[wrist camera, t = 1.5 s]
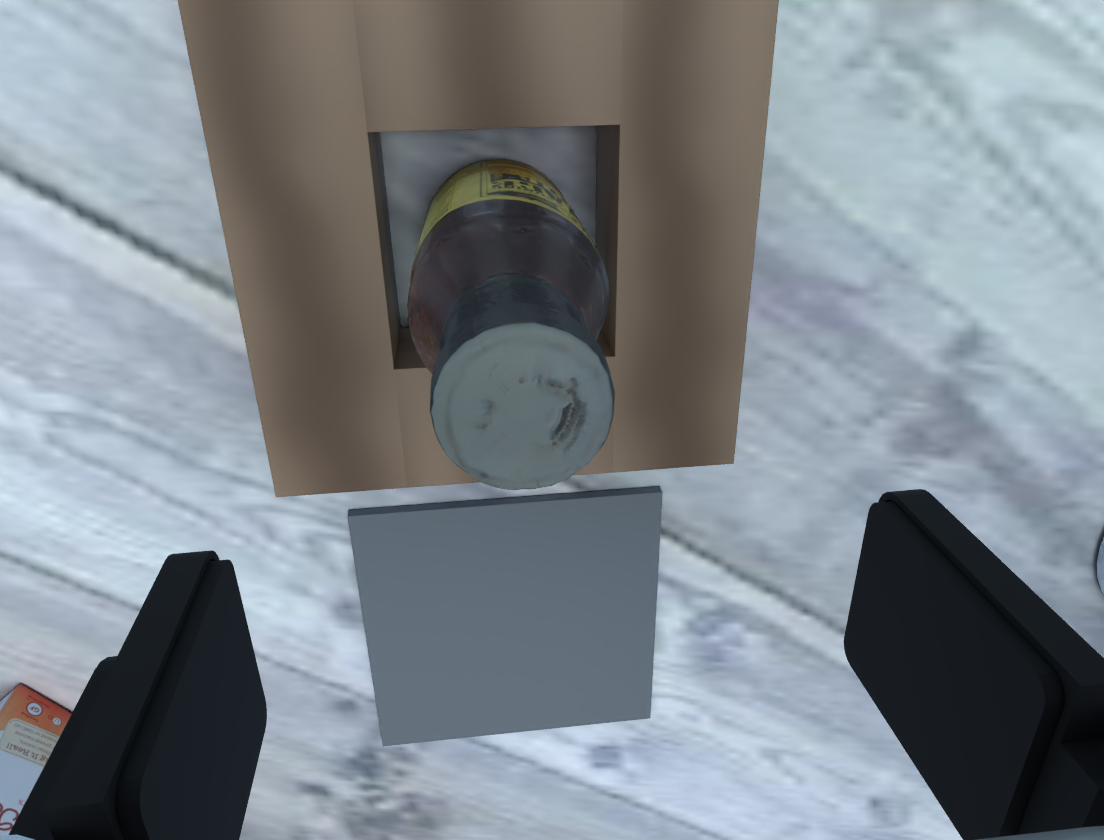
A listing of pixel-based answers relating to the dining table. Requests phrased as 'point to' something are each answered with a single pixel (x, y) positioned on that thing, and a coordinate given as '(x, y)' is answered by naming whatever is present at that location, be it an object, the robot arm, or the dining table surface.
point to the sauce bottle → (511, 327)
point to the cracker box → (25, 747)
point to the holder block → (481, 103)
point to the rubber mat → (509, 612)
